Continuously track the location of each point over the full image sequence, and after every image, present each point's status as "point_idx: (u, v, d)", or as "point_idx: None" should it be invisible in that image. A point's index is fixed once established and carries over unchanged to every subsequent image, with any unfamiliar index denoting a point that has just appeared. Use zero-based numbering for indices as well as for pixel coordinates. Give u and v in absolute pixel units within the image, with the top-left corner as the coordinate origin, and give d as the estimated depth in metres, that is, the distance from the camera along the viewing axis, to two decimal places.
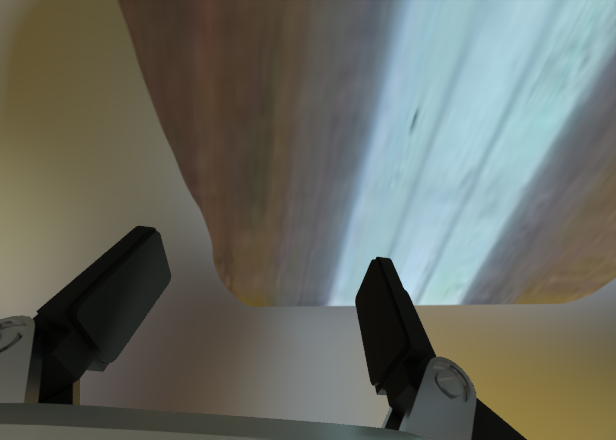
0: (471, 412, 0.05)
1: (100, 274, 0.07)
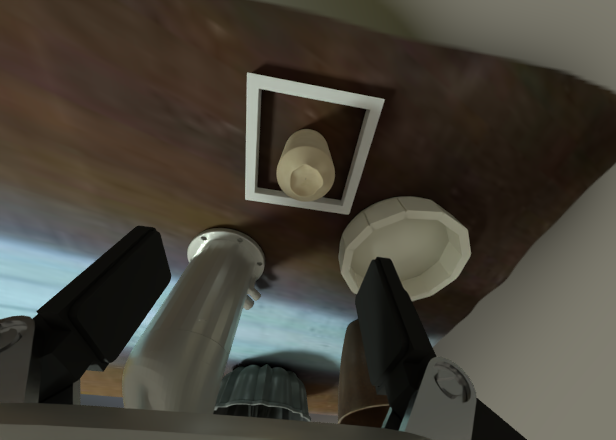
0: (471, 412, 0.05)
1: (100, 274, 0.07)
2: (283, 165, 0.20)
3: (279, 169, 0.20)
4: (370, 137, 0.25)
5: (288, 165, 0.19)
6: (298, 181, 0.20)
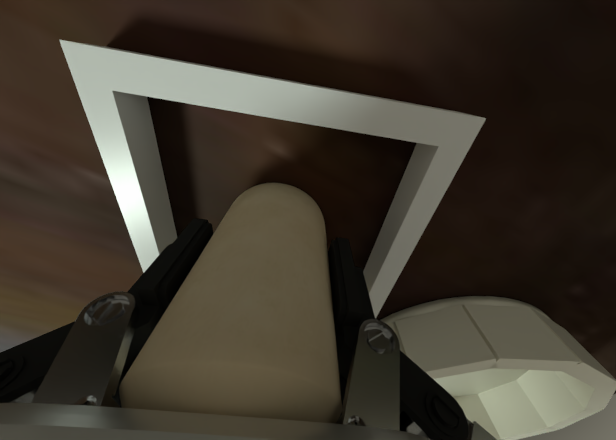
0: (397, 358, 0.06)
1: (176, 258, 0.08)
2: None
3: None
4: (429, 210, 0.10)
5: None
6: None
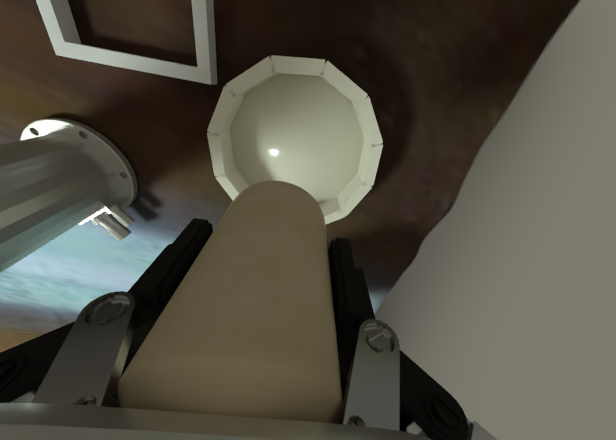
0: (397, 358, 0.06)
1: (176, 258, 0.08)
2: None
3: None
4: None
5: None
6: None
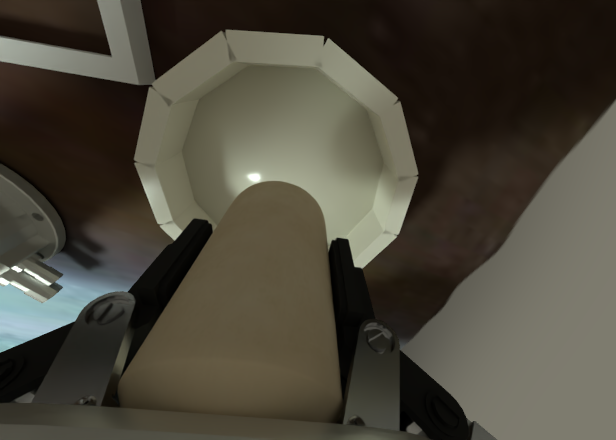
0: (397, 358, 0.06)
1: (176, 258, 0.08)
2: None
3: None
4: None
5: None
6: None
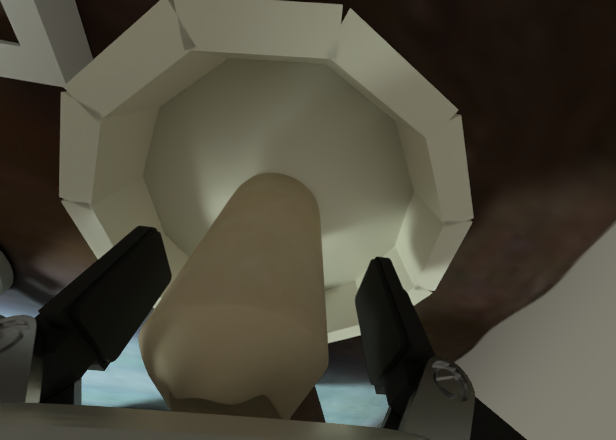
0: (469, 411, 0.05)
1: (101, 274, 0.07)
2: (146, 357, 0.06)
3: (142, 357, 0.06)
4: None
5: (157, 367, 0.05)
6: None
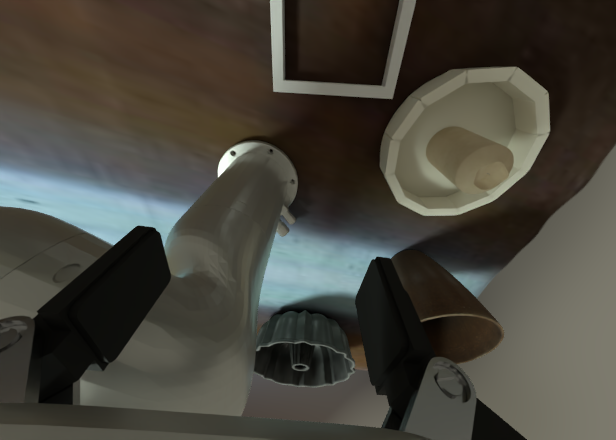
0: (471, 412, 0.05)
1: (100, 274, 0.07)
2: (469, 163, 0.22)
3: (462, 167, 0.23)
4: None
5: (476, 163, 0.22)
6: (479, 176, 0.23)
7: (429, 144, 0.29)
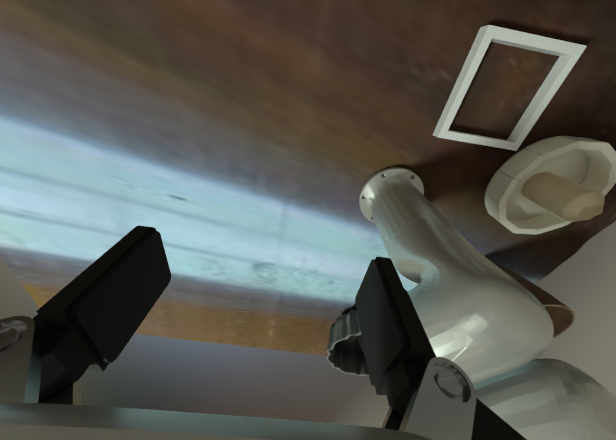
0: (471, 412, 0.05)
1: (100, 274, 0.07)
2: (578, 202, 0.34)
3: (571, 204, 0.34)
4: (562, 79, 0.32)
5: (583, 202, 0.34)
6: (581, 210, 0.35)
7: (528, 182, 0.41)
